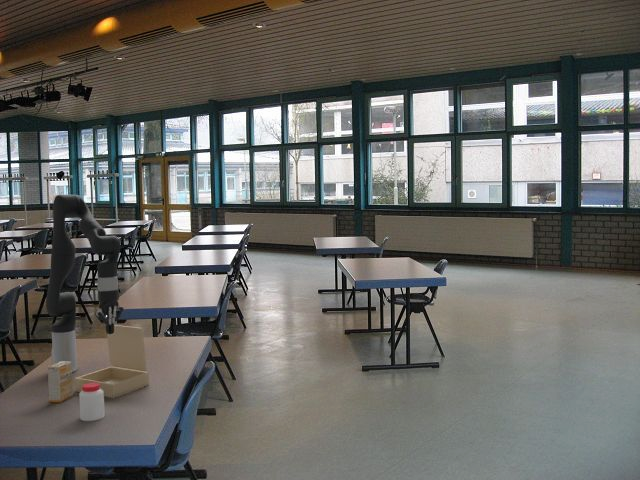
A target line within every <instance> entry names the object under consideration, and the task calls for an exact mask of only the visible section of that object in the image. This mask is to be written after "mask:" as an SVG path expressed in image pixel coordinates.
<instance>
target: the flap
mask: <svg viewBox="0 0 640 480" xmlns="http://www.w3.org/2000/svg"><path fill="white" fill-rule="evenodd" d="M106 338H107V347H108V355H109V356H108V357H109V363H110V367H117V368H123V369H130V370H136V371H143V372H148V367H147V365H148V364H147V358H146V349H145V348H146V347H145V337H144V328H143V327H136V326H127V325H120V324H114V333H113V334H107V333H106Z"/></svg>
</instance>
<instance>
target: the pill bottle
mask: <svg viewBox="0 0 640 480" xmlns="http://www.w3.org/2000/svg"><path fill="white" fill-rule="evenodd" d="M82 388H83V390H82V391H81V392H79V395H78V397H79V399H78V400H79V416H80V420H81V421H83V422H93V421H94V422H95V421H98V420H99V421H100V420H101V419H103V418H105V413H106V412H105V396H104V391H103V390H102V389H101V388H100V384H99V383H87V384H84V385H83V386H82Z"/></svg>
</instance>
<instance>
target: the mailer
mask: <svg viewBox="0 0 640 480" xmlns="http://www.w3.org/2000/svg"><path fill="white" fill-rule="evenodd" d="M149 376H150V375H149V372H148V371H140V370H133V369H127V368H120V367H114V366H109V367H106V368H103V369H100V370H99V369H98V370H96V371H94V372H93V371H92V372H90V373H86V374H84V375H80V376H76V377H75V378H74V383H75V384H74V386H75V391H76V392H79V393H80V392H81V391H82V390H83V388H82V386H83V385H84V384H87V383H99V384H100V388H101V389H102V390H103V391H104V397H105V396H106V398H110V397H111V398H110V399H115V397H116V398H118V397H120V395H121V396H123V394H124V395H125V394H128V393H131V391H132V392H134V391H137V390H140V389H142V388H145V387H148V386H149V385H150V380H149ZM147 385H148V386H147ZM144 386H145V387H144ZM139 388H140V389H139Z"/></svg>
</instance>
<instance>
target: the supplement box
mask: <svg viewBox="0 0 640 480" xmlns="http://www.w3.org/2000/svg"><path fill="white" fill-rule="evenodd" d="M47 377H48V378H47V380H48V399H49V400H48V401H49V403H62V402H63V401H65V400H67V399H68V398H70V397H73V395H74V394H73V391H74V390H73V372H72V363H71V361H60V362H58V363H56V364H53V365H52V364H50V365H48V366H47Z"/></svg>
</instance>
